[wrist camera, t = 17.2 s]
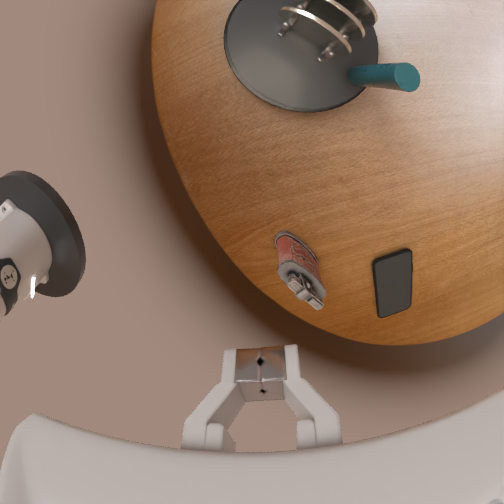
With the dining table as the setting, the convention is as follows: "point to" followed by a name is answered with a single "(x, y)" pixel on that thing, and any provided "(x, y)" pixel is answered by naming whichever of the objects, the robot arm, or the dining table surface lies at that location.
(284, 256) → the lighter
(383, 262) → the smartphone
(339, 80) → the dish rack
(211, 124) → the dining table surface
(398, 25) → the dining table surface
